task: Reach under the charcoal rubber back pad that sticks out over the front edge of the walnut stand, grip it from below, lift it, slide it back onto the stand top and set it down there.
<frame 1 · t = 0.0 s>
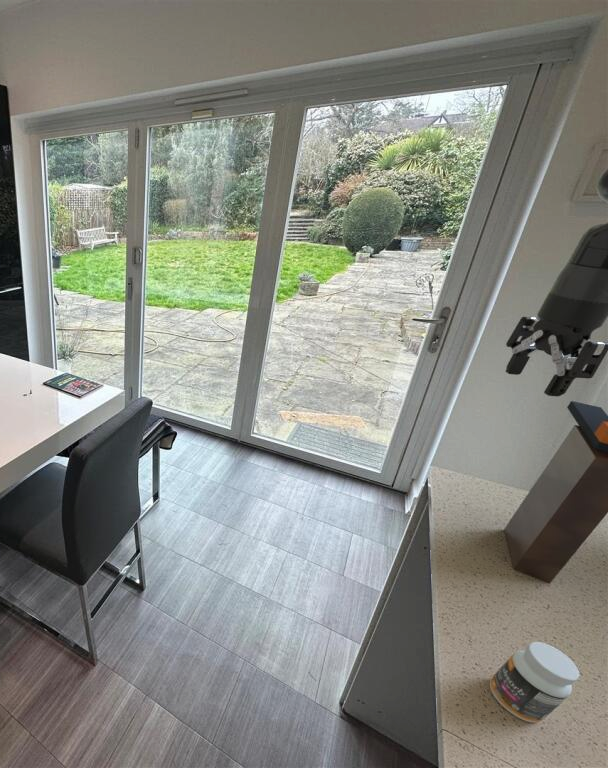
hand: (530, 383, 73), 32 cm above the countertop, tool pointing down, fingers open, 8 cm apart
walnut stand: (525, 554, 79), on the countertop
pill bottle: (513, 701, 57), on the countertop
back pad: (595, 430, 71), point 26 cm above the countertop, touching walnut stand
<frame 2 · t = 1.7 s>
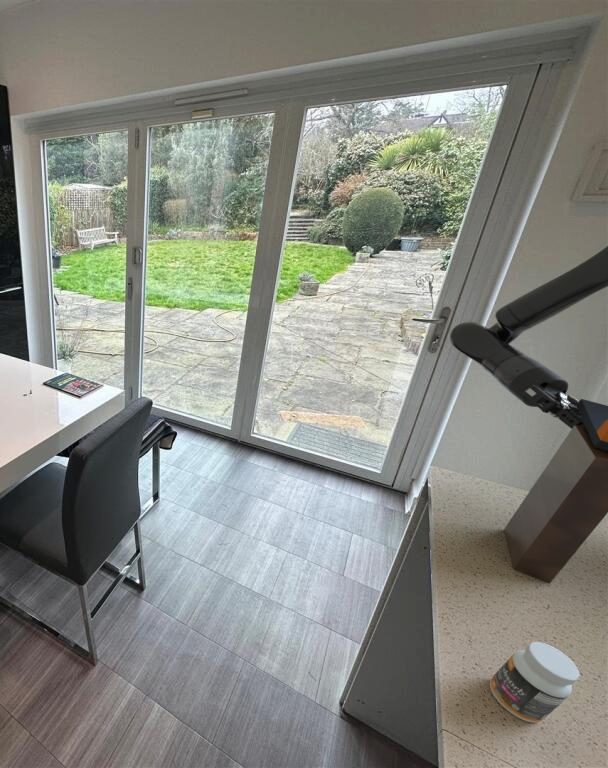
hand: (600, 434, 74), 24 cm above the countertop, tool horizontal, fingers open, 8 cm apart
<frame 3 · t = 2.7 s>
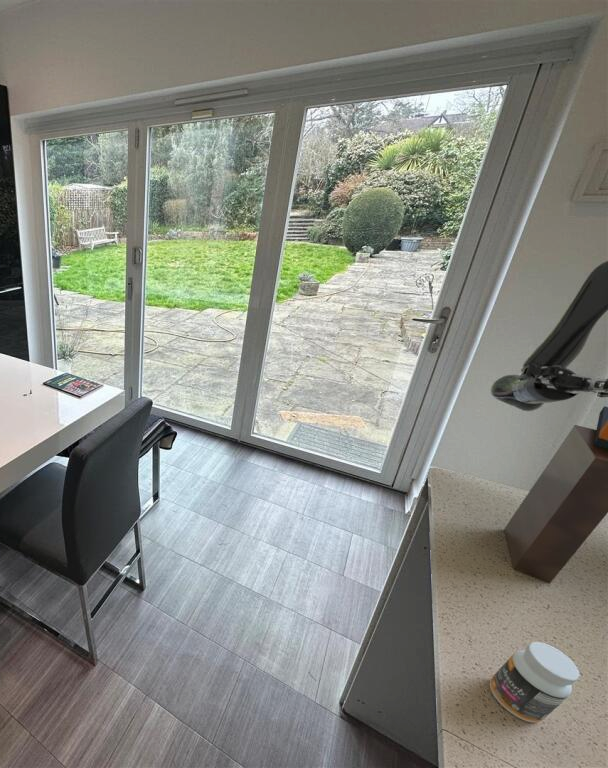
hand: (587, 376, 79), 31 cm above the countertop, tool pointing upward, fingers open, 8 cm apart
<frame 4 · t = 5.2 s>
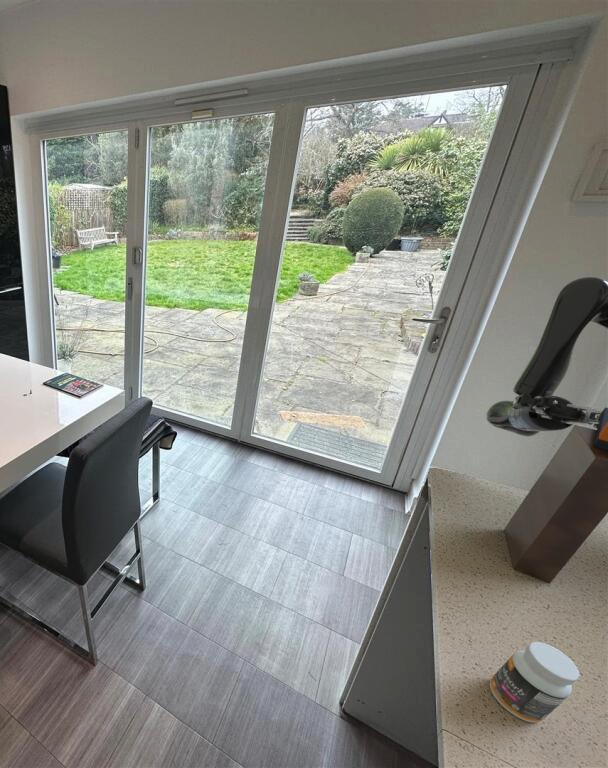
hand: (581, 408, 78), 26 cm above the countertop, tool pointing upward, fingers open, 8 cm apart
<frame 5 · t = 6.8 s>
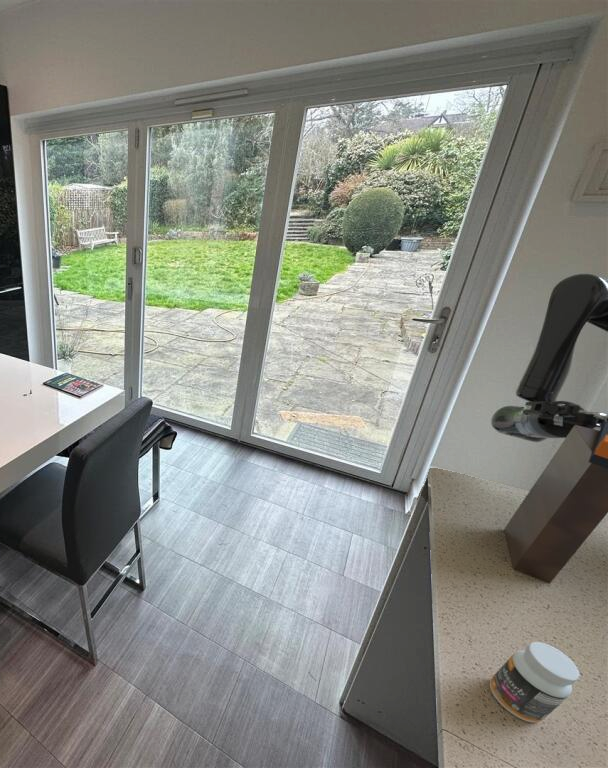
hand: (598, 415, 72), 28 cm above the countertop, tool pointing upward
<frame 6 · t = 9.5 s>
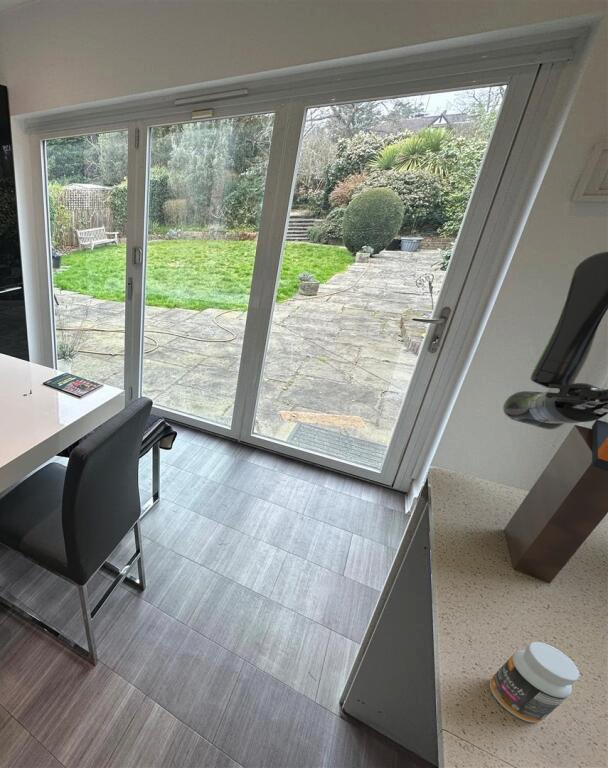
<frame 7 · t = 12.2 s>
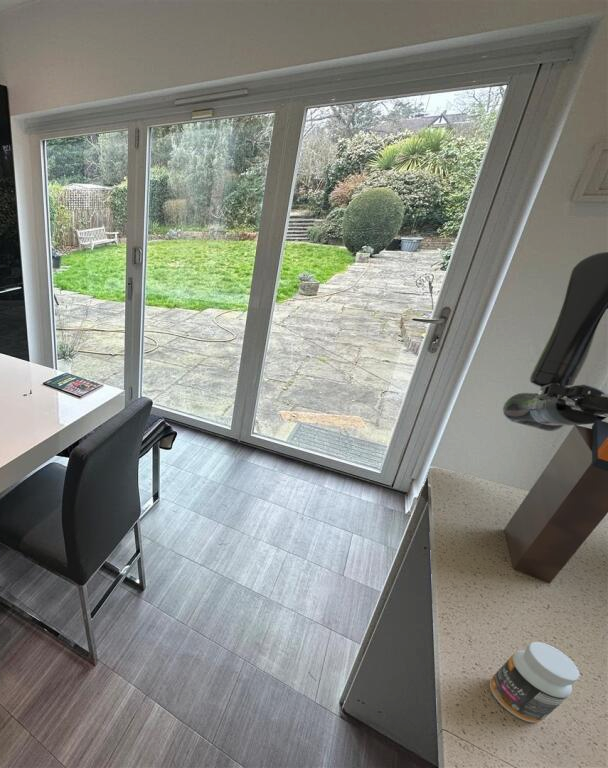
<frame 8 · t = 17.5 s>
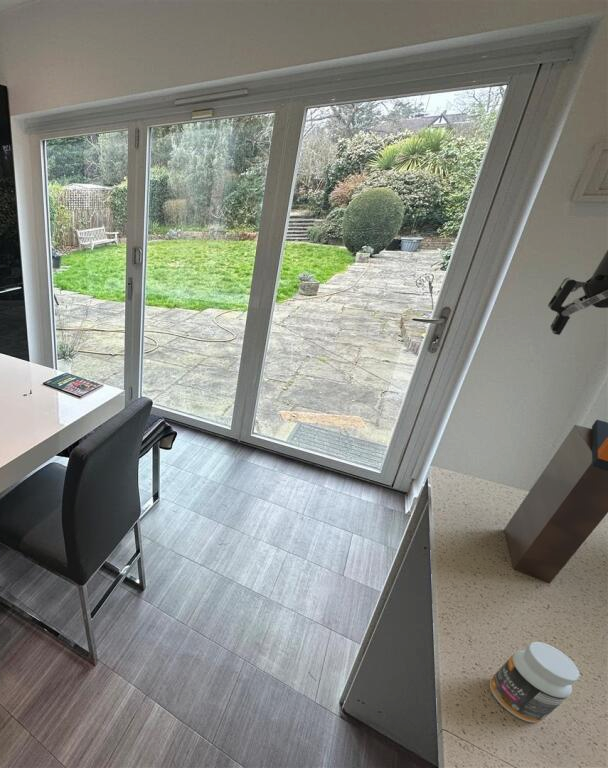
hand: (586, 338, 78), 38 cm above the countertop, tool pointing down, fingers open, 8 cm apart
at the end: back pad 0.4 cm from the target spot, point 26.0 cm above the countertop; back pad tilted 0°; the gripper is holding nothing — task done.
